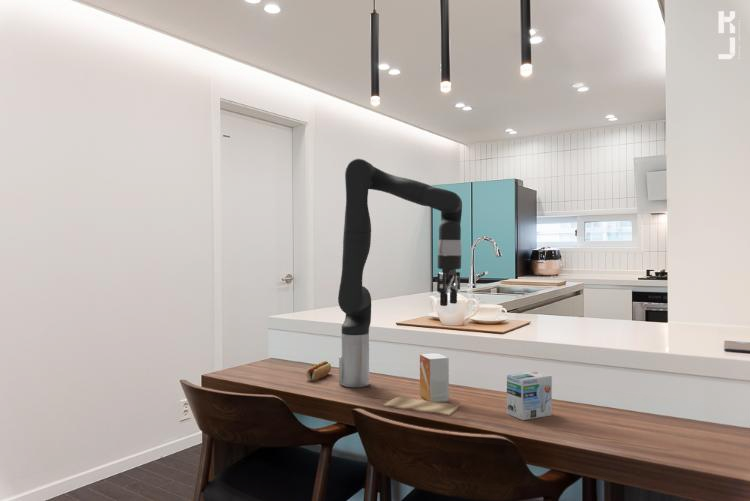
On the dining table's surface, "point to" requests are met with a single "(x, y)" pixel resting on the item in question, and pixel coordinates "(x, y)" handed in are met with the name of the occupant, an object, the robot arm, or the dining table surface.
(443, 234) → the robot arm
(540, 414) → the light bulb box
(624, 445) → the dining table surface
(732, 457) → the dining table surface
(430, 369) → the small box
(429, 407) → the wooden board
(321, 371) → the food
